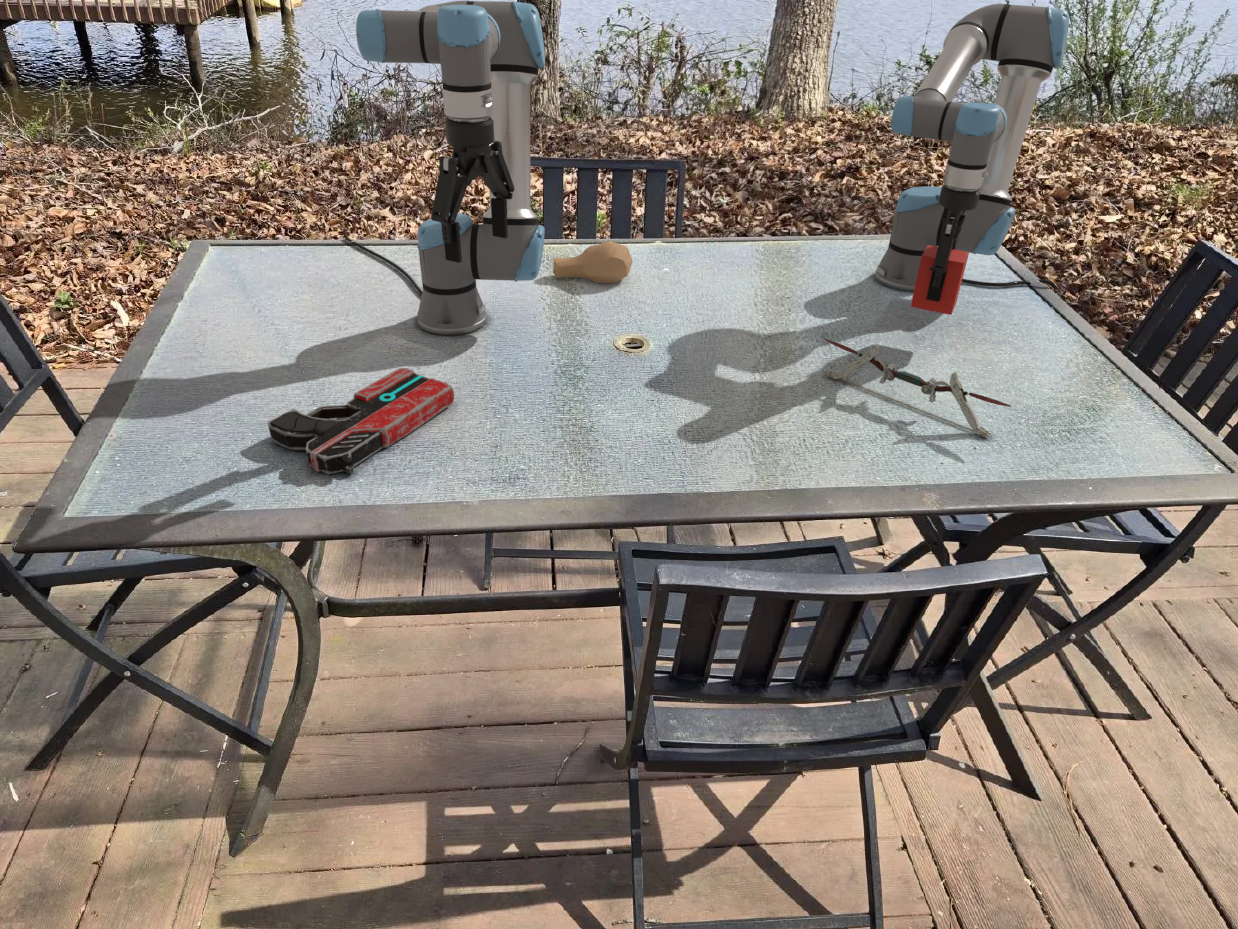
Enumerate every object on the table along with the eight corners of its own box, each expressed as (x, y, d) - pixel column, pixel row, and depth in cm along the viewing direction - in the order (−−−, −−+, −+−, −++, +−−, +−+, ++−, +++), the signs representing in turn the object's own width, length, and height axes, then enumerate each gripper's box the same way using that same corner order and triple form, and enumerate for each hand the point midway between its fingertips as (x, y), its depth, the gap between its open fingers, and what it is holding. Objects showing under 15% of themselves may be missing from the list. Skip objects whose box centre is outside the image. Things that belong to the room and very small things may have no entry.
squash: (634, 287, 216) (630, 255, 210) (554, 294, 218) (548, 263, 212) (634, 264, 224) (630, 232, 218) (556, 271, 226) (551, 240, 220)
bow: (1002, 440, 160) (1018, 392, 155) (998, 443, 159) (1013, 395, 153) (820, 369, 181) (828, 325, 176) (815, 372, 180) (823, 328, 175)
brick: (951, 315, 186) (964, 262, 180) (910, 307, 189) (921, 255, 183) (956, 302, 191) (969, 251, 185) (916, 295, 194) (928, 244, 188)
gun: (253, 426, 149) (335, 462, 141) (381, 354, 171) (459, 383, 163) (258, 448, 152) (340, 485, 144) (384, 375, 174) (460, 403, 166)
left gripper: (439, 136, 126) (451, 276, 138) (532, 105, 145) (535, 231, 157) (398, 129, 129) (413, 267, 141) (494, 100, 148) (500, 223, 160)
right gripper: (974, 202, 167) (946, 314, 180) (987, 176, 182) (961, 280, 195) (933, 196, 170) (909, 306, 183) (950, 171, 185) (926, 274, 198)
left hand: (477, 248), depth 149 cm, fingers open, 13 cm apart
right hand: (936, 293), depth 189 cm, fingers closed on brick, 7 cm apart
